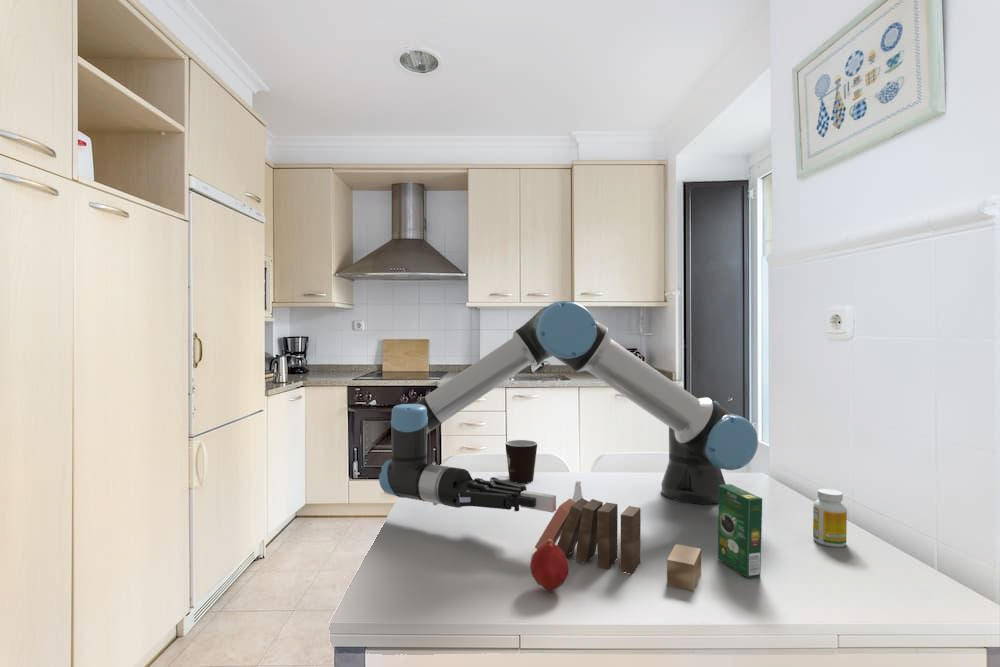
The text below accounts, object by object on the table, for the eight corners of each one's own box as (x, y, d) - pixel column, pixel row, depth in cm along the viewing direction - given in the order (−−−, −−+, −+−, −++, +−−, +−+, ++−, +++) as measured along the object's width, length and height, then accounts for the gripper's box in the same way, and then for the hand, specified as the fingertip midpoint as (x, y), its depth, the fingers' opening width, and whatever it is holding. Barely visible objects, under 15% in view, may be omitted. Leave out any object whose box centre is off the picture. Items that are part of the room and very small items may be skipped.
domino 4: (597, 566, 90) (597, 510, 90) (606, 556, 94) (606, 502, 94) (608, 569, 89) (608, 512, 89) (617, 558, 93) (617, 504, 93)
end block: (667, 585, 83) (667, 559, 83) (675, 568, 89) (675, 544, 89) (693, 591, 81) (693, 564, 81) (701, 573, 87) (701, 548, 87)
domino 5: (620, 571, 88) (620, 514, 88) (628, 560, 92) (629, 505, 92) (632, 574, 87) (632, 516, 87) (640, 563, 91) (640, 507, 91)
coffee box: (763, 578, 86) (763, 496, 86) (748, 580, 85) (748, 498, 85) (731, 557, 93) (731, 483, 93) (716, 559, 93) (716, 484, 93)
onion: (528, 583, 84) (528, 532, 84) (564, 581, 84) (564, 531, 84) (533, 601, 78) (533, 546, 78) (572, 599, 79) (572, 545, 79)
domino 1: (534, 547, 95) (559, 505, 93) (546, 537, 100) (570, 498, 98) (543, 554, 95) (568, 513, 92) (554, 545, 99) (579, 505, 97)
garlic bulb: (576, 513, 119) (573, 476, 119) (599, 517, 114) (596, 479, 115) (558, 519, 114) (555, 482, 115) (582, 524, 110) (579, 485, 110)
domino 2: (554, 553, 94) (571, 505, 92) (564, 543, 98) (581, 497, 96) (564, 559, 93) (581, 511, 91) (574, 549, 97) (591, 503, 95)
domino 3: (574, 560, 92) (582, 506, 91) (585, 550, 96) (592, 499, 95) (585, 564, 91) (593, 510, 90) (595, 553, 95) (603, 502, 94)
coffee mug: (535, 485, 138) (535, 447, 138) (502, 483, 140) (502, 445, 140) (540, 474, 150) (540, 438, 150) (510, 472, 151) (510, 437, 151)
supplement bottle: (806, 539, 102) (806, 489, 102) (824, 535, 104) (824, 486, 104) (835, 550, 97) (835, 497, 97) (853, 545, 99) (853, 493, 99)
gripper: (464, 495, 113) (567, 514, 102) (427, 513, 102) (539, 536, 91) (464, 460, 114) (568, 475, 102) (427, 474, 102) (539, 492, 91)
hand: (554, 503), depth 96 cm, fingers closed
